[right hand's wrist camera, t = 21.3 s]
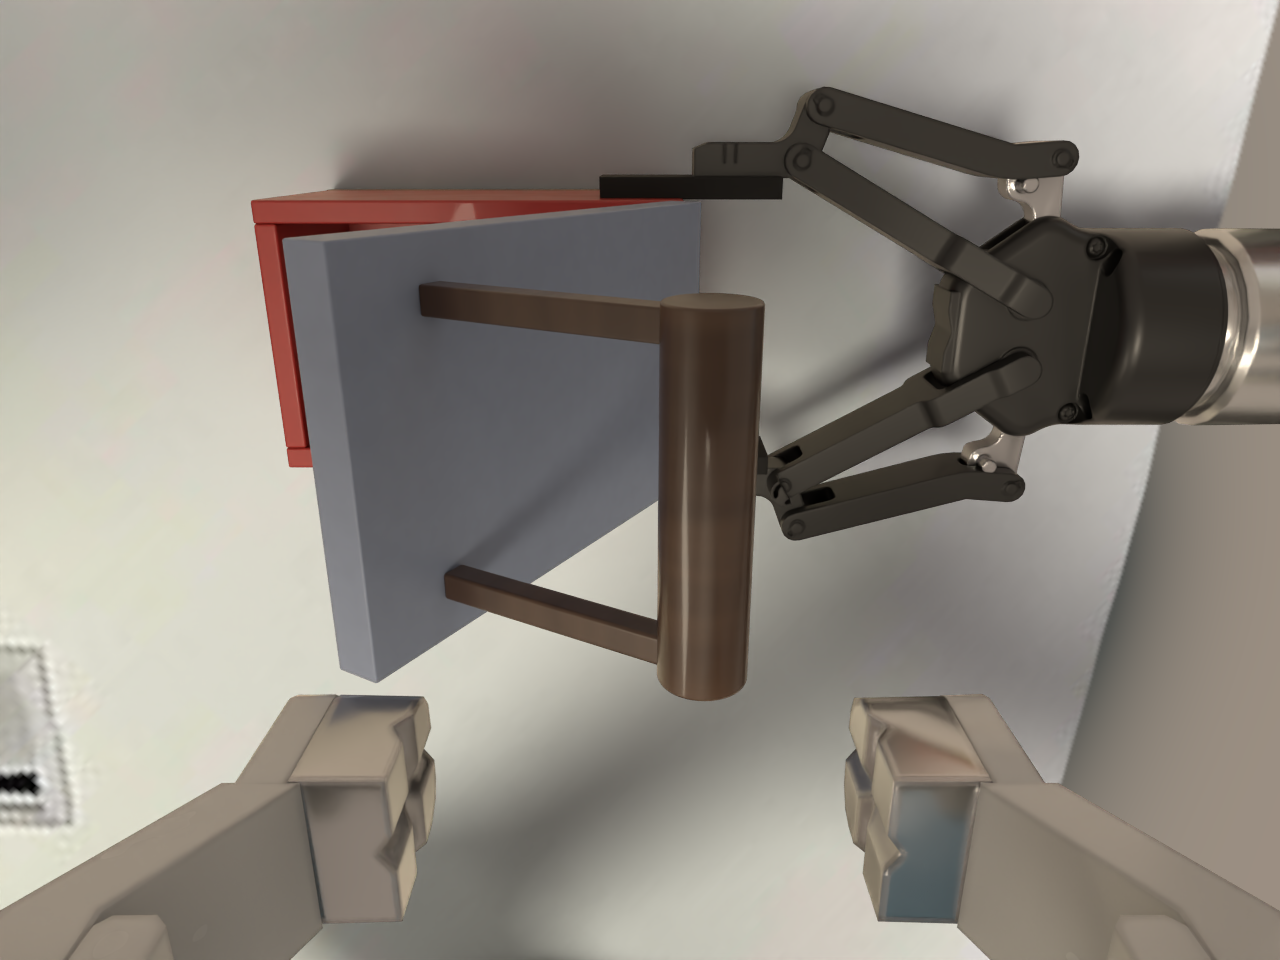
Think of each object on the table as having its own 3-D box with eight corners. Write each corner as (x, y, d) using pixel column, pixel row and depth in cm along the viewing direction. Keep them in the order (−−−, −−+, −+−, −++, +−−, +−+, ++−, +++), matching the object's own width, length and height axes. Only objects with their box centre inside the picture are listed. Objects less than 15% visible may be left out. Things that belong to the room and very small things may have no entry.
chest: (357, 405, 42) (288, 468, 34) (332, 189, 39) (249, 199, 31) (672, 405, 42) (680, 468, 34) (675, 189, 39) (685, 199, 31)
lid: (339, 669, 21) (680, 804, 17) (280, 237, 17) (690, 266, 13) (666, 471, 34) (906, 517, 29) (669, 200, 30) (941, 208, 26)
